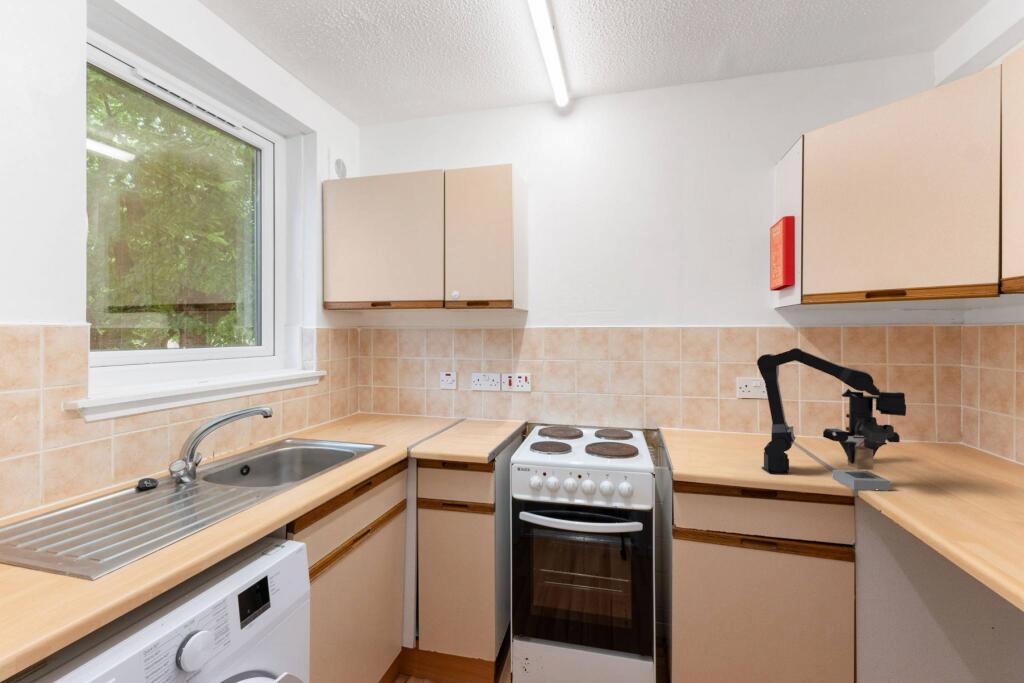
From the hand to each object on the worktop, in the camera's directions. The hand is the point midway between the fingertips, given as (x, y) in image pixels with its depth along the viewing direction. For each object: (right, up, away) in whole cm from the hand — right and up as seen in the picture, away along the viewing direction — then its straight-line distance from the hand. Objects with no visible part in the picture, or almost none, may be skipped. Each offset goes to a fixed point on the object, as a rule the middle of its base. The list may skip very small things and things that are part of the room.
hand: (860, 463), depth 136 cm
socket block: (0, -7, 0) cm, 7 cm away
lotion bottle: (+19, -6, +24) cm, 32 cm away
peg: (0, -1, 0) cm, 1 cm away
